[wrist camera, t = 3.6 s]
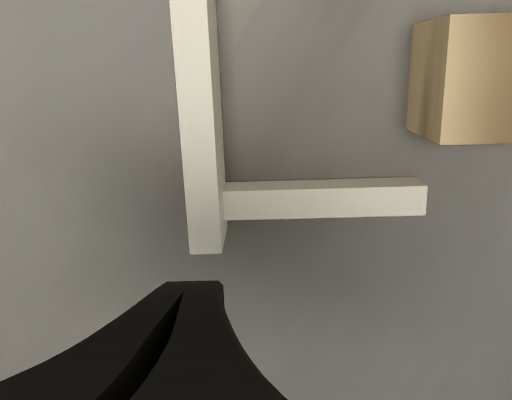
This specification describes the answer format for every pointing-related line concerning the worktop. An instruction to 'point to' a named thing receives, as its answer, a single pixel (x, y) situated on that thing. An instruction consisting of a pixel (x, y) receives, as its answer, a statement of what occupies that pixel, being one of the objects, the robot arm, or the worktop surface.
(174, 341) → the robot arm
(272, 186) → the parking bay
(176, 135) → the worktop surface
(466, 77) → the oak block
